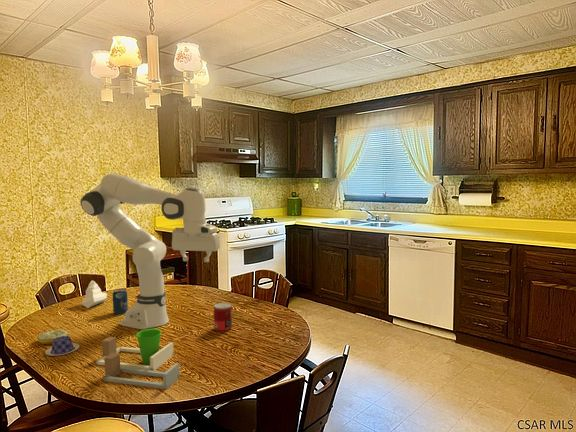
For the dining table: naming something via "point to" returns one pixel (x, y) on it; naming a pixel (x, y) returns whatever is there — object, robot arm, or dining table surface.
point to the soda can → (120, 301)
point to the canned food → (222, 317)
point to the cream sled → (155, 359)
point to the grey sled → (114, 369)
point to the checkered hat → (62, 346)
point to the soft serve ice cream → (93, 295)
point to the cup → (148, 343)
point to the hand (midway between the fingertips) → (196, 261)
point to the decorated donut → (51, 336)
